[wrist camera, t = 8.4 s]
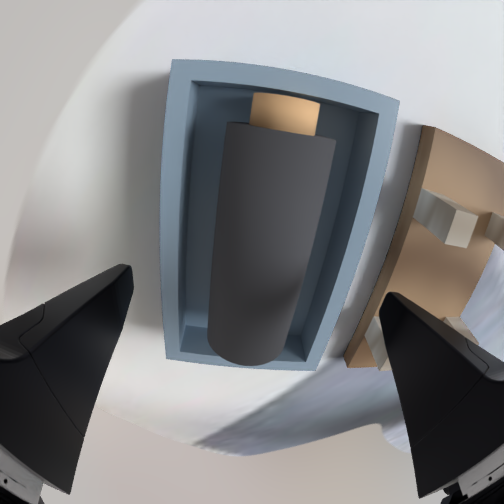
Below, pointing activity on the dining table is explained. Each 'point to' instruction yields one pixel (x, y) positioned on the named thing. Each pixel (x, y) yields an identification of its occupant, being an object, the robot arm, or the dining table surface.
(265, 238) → the tan-capped grey cylinder
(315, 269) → the tray
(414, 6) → the dining table surface
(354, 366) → the block
